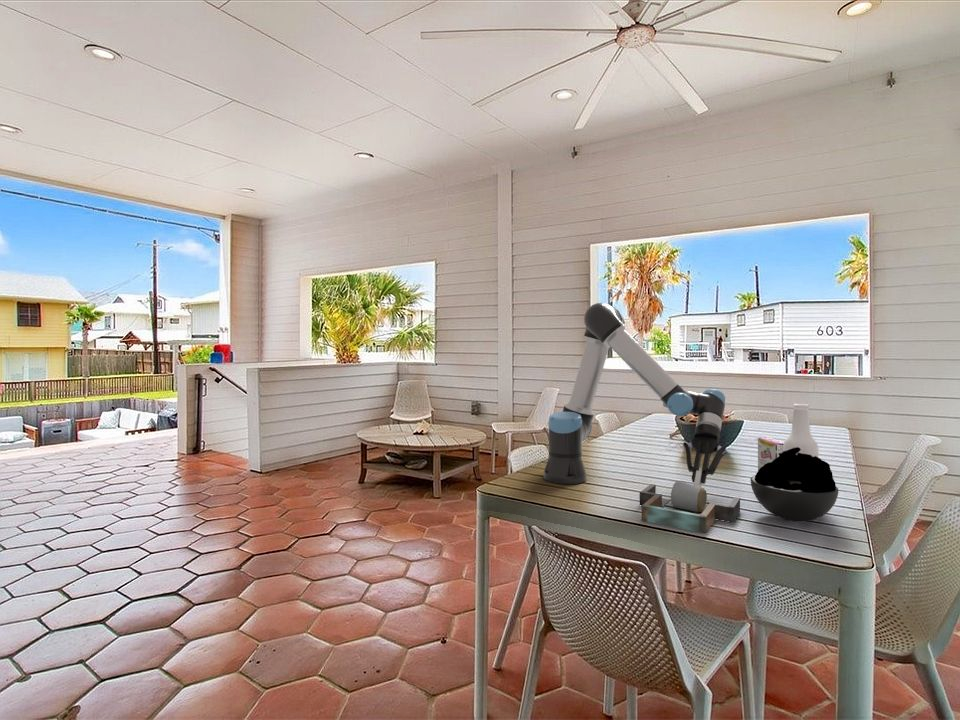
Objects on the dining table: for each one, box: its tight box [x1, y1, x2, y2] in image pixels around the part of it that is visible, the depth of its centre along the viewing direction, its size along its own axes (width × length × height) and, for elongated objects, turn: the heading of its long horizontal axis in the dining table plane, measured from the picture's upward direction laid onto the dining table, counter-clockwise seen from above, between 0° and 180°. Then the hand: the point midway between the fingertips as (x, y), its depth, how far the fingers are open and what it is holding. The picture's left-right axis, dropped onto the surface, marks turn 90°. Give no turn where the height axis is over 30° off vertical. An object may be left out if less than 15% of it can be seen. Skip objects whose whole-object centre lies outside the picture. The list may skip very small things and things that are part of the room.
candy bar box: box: [757, 437, 784, 471], centre depth 161 cm, size 11×5×16 cm, turn 179°
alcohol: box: [783, 403, 820, 458], centre depth 145 cm, size 9×9×30 cm
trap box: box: [639, 483, 741, 534], centre depth 136 cm, size 25×24×4 cm
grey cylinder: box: [670, 480, 708, 513], centre depth 142 cm, size 11×8×8 cm
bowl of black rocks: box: [750, 447, 839, 523], centre depth 132 cm, size 20×20×19 cm
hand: (696, 491), depth 149 cm, fingers closed
